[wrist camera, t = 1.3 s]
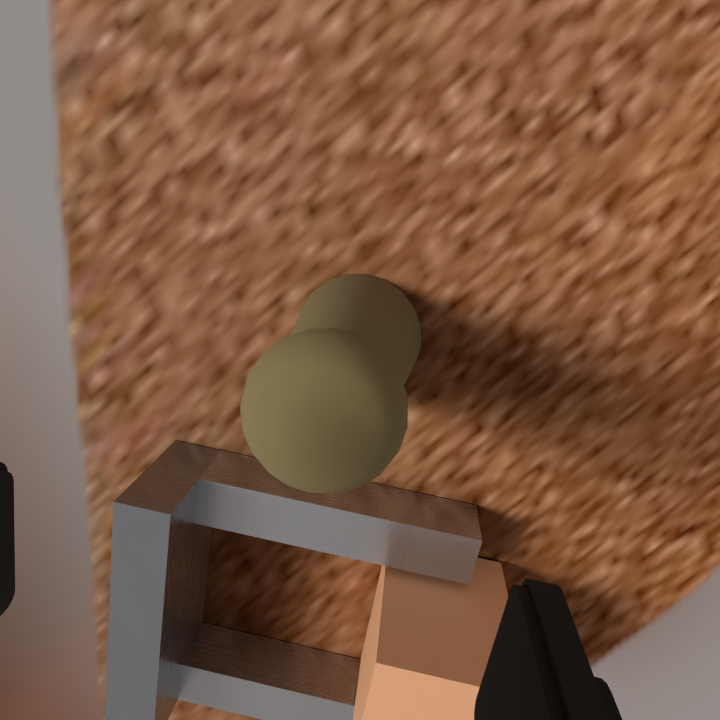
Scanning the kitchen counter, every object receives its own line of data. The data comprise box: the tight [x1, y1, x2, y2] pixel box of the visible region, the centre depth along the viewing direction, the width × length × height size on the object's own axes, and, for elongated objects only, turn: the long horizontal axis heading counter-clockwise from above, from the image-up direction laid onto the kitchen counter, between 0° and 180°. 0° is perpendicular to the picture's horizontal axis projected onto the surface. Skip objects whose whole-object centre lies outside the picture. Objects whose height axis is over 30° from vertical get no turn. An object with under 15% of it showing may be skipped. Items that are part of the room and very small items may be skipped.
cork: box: [240, 274, 421, 494], centre depth 20 cm, size 6×6×11 cm
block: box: [353, 558, 508, 720], centre depth 26 cm, size 8×6×8 cm
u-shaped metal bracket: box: [105, 440, 482, 720], centre depth 27 cm, size 14×16×6 cm
